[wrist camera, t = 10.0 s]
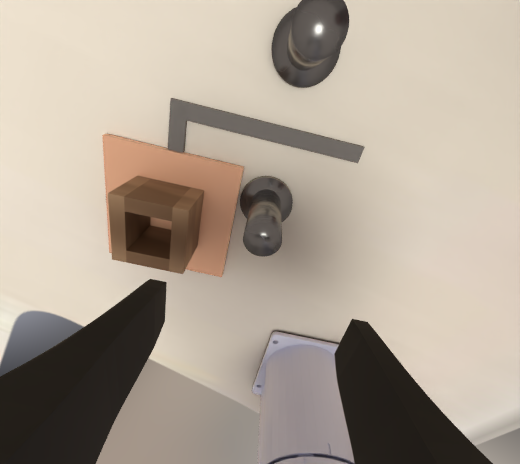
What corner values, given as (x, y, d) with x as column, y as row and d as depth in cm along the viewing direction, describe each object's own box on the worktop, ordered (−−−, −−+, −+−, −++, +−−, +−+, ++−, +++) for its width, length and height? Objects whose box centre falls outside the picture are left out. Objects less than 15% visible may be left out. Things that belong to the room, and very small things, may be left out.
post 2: (325, 94, 15) (349, 94, 10) (265, 78, 15) (259, 71, 10) (349, 16, 13) (391, -27, 9) (281, -2, 13) (284, -58, 8)
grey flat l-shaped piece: (342, 198, 18) (343, 199, 18) (168, 156, 17) (167, 156, 17) (363, 146, 16) (364, 147, 16) (171, 98, 16) (170, 98, 15)
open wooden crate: (197, 245, 20) (182, 273, 17) (138, 233, 20) (112, 259, 16) (204, 190, 18) (188, 210, 15) (137, 175, 17) (107, 193, 14)
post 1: (284, 229, 19) (286, 274, 14) (236, 218, 19) (222, 260, 14) (298, 183, 18) (306, 217, 13) (246, 170, 17) (234, 200, 13)
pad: (222, 273, 21) (221, 277, 21) (112, 249, 21) (109, 252, 21) (244, 166, 17) (243, 168, 17) (107, 133, 17) (102, 134, 16)
